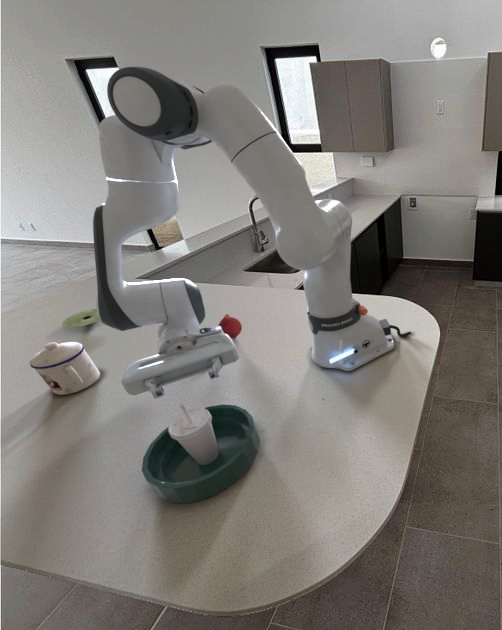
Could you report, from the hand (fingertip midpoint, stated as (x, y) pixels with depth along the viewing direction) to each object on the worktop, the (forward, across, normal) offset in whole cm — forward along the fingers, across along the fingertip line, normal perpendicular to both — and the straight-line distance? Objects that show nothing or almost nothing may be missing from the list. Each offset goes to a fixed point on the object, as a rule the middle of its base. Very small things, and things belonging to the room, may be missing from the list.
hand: (186, 384), depth 65 cm
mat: (-65, -26, +10) cm, 71 cm away
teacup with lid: (-30, -24, +10) cm, 40 cm away
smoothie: (+10, 0, +10) cm, 15 cm away
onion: (-30, +10, +11) cm, 33 cm away
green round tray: (+11, 0, +10) cm, 15 cm away
